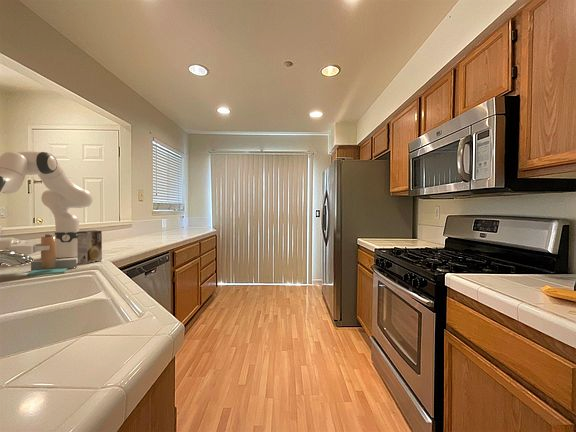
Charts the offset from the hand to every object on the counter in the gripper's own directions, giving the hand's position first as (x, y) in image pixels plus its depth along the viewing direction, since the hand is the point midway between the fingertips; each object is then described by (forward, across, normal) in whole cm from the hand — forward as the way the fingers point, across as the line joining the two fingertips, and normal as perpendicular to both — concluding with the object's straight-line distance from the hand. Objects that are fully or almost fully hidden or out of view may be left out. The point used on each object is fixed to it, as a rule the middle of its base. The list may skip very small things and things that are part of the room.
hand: (51, 247), depth 129 cm
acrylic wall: (0, +6, +11) cm, 13 cm away
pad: (-1, 0, +11) cm, 11 cm away
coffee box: (+12, +23, +11) cm, 28 cm away
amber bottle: (-1, 0, +9) cm, 9 cm away
